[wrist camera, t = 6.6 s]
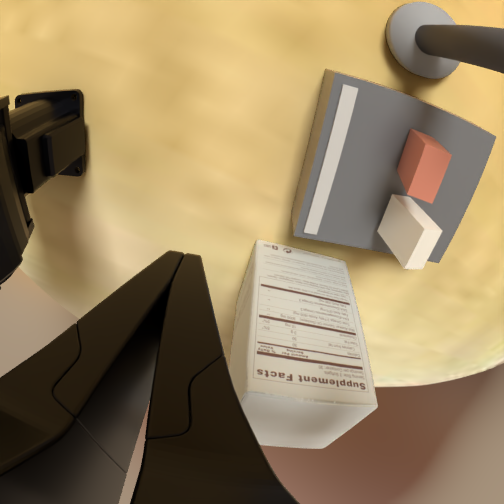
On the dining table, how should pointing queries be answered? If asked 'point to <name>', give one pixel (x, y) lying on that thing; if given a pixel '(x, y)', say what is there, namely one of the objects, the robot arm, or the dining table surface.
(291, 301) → the supplement box
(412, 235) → the cream flat brick
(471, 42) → the stand
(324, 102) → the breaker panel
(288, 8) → the dining table surface
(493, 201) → the dining table surface
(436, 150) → the terracotta brick
